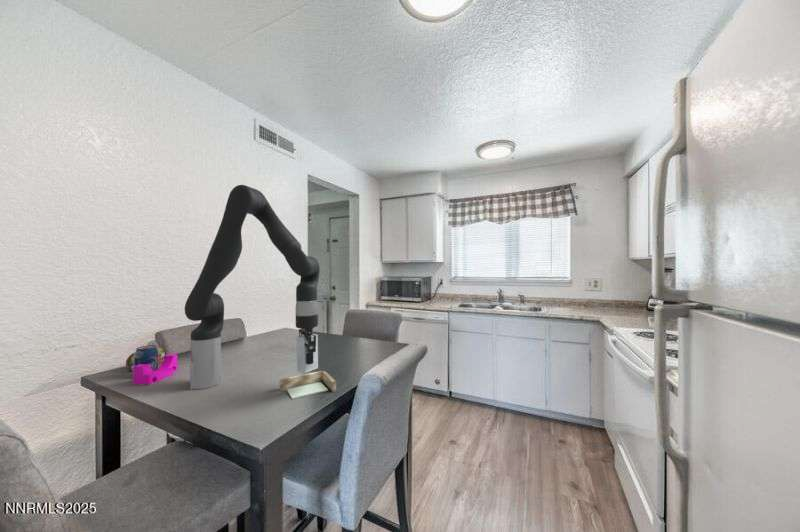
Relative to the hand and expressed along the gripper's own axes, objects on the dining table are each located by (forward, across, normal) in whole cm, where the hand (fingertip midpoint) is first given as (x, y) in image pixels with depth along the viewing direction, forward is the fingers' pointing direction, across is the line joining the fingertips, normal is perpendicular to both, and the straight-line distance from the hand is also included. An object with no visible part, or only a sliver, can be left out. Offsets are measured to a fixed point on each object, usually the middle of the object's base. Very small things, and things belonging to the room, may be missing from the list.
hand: (307, 361), depth 102 cm
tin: (+10, +60, +52) cm, 80 cm away
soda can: (+10, +47, +50) cm, 70 cm away
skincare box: (+3, 0, 0) cm, 3 cm away
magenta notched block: (+10, +42, +46) cm, 63 cm away
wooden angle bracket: (+10, 0, 0) cm, 10 cm away
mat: (+10, 0, 0) cm, 10 cm away
